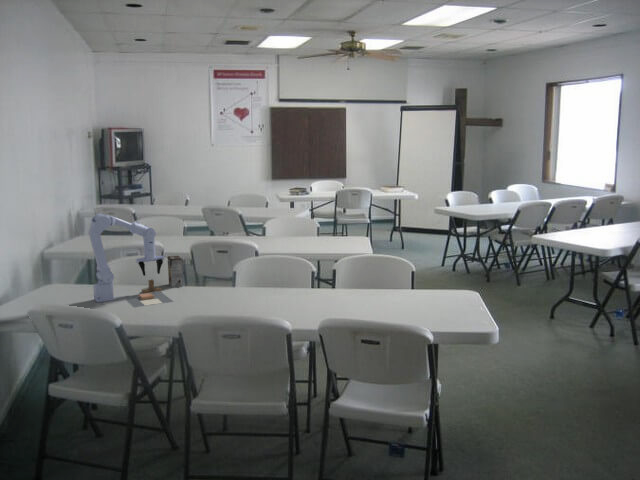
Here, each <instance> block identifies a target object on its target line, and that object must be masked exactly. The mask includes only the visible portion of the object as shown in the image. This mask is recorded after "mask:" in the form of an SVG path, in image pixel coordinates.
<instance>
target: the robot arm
mask: <svg viewBox="0 0 640 480" xmlns="http://www.w3.org/2000/svg"><path fill="white" fill-rule="evenodd" d="M92 217H93V218H91V223H90V227H89V229H88V236H89V239H90V242H91V243H90V244H91V247H92V251H93V254H94V258H95V262H96V273H95V274H96V278H97V279H98V281H97V283H94V284H93V300H94V301H96V303H103V302H107V301H113V300H116V297H115V296H114V279H115V274H114V273H113V272H112V271H111V267H110V265H109V264H108V260H107V256H106V253H105V248H104V245H103V242H102V240H103V239H102V237H101V234H102V233H103V232H104V230H106V229H108V228H109V227H110V226H115V225H116V226H119V227H122V228H125V229H128V230H129V232H130V233H131V234H135V235H137V236H141V237H142V239H143V253H144V257H140V258H136V259H135V262H136V263H137V264H138V266H139V268H140V269H141V272H142V275H143V276H144V277H146V267H145V266H146V264H145V263H146V262H147V263H148V262H155V261H156V273H157V274H158V275H159V274H161V267H162V265H163V263H164V261H165V256H164V255H157V254H156V242H155V241H156V240H155V237H156V236H157V235H156V234H157V232H156V230H155V229H154V228H152V227H149V226H148V225H147V224H141V223H140V221H132V222H128V221H126V220H124V219H120V218H118V217H116V216H112V215H107V214H103V213H97V214H95V215H94V216H92Z"/></svg>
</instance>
